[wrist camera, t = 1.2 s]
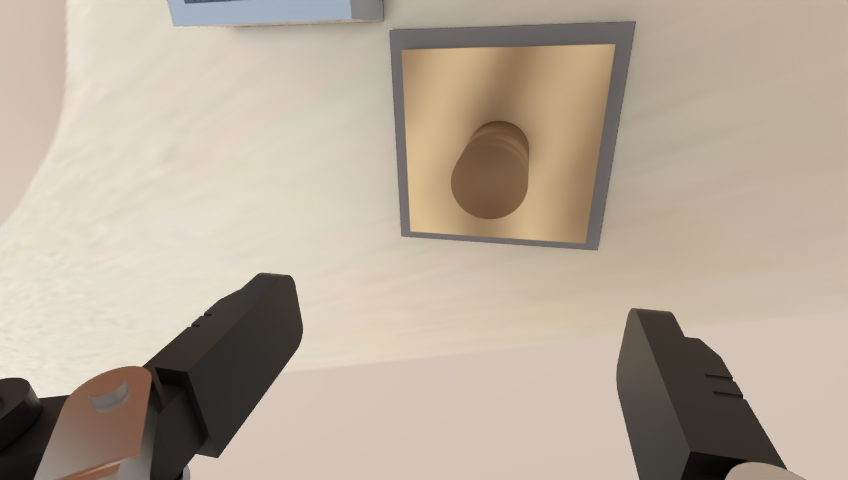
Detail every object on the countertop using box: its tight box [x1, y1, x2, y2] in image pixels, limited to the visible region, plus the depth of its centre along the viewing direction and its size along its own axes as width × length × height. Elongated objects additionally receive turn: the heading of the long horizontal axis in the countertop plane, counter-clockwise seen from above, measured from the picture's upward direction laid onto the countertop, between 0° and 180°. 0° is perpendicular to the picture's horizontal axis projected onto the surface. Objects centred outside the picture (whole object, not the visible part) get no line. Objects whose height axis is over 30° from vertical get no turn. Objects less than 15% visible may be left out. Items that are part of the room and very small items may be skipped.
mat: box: [390, 21, 636, 250], centre depth 26 cm, size 13×13×1 cm
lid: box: [402, 44, 615, 243], centre depth 23 cm, size 11×11×7 cm
